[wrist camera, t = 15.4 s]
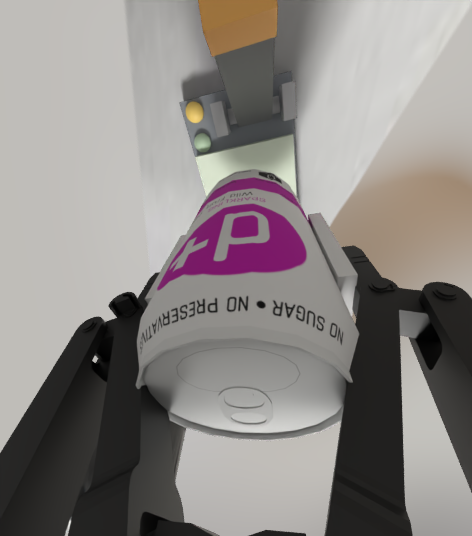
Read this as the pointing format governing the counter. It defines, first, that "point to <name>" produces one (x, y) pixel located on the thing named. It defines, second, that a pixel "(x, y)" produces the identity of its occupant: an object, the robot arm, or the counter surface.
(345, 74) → the counter surface
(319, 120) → the counter surface
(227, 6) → the breaker lever
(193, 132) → the panel
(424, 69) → the counter surface
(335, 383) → the supplement can
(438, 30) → the counter surface
